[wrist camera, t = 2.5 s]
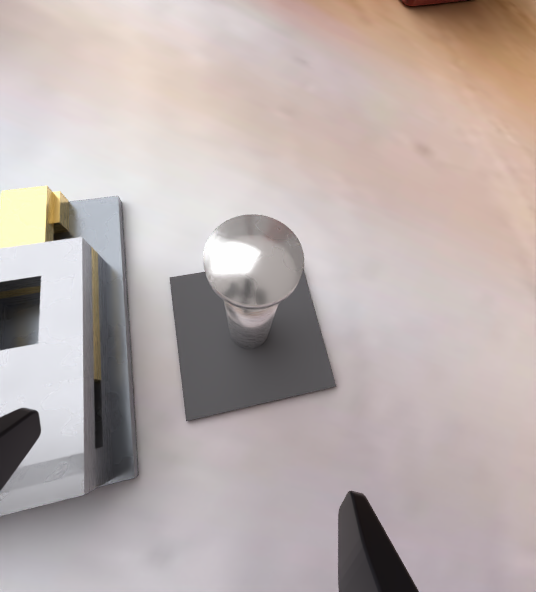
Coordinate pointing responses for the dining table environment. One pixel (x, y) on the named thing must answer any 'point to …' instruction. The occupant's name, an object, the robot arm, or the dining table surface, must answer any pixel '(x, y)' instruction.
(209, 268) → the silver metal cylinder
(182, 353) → the rubber mat
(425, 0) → the plant pot
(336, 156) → the dining table surface
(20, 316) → the windowed slide housing
